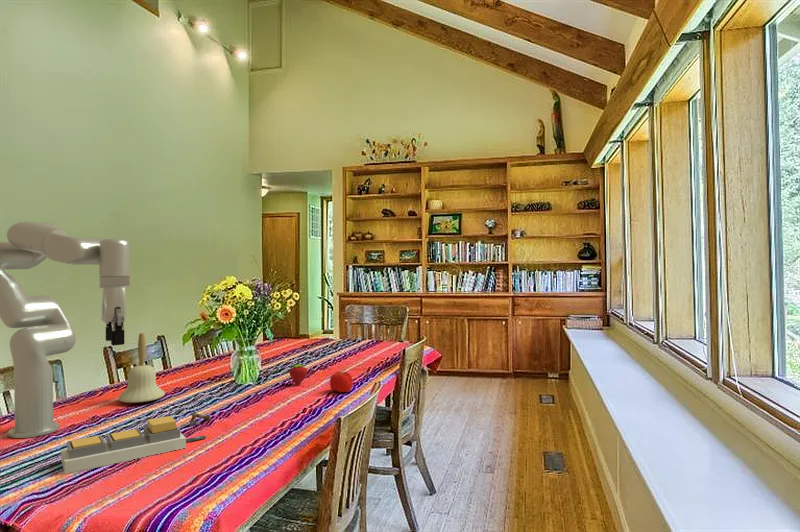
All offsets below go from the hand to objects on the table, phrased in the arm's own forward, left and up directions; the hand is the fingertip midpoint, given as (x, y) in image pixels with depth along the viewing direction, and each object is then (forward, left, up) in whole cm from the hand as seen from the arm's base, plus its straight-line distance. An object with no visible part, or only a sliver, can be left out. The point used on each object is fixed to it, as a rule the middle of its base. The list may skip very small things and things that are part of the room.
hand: (114, 342), depth 147 cm
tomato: (-10, +81, -28) cm, 86 cm away
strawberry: (-30, +72, -28) cm, 83 cm away
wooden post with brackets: (-2, +24, -29) cm, 38 cm away
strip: (+13, +4, -28) cm, 31 cm away
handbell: (-42, +15, -28) cm, 53 cm away
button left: (+13, -8, -25) cm, 29 cm away
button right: (+13, +10, -23) cm, 28 cm away
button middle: (+13, +1, -25) cm, 28 cm away
